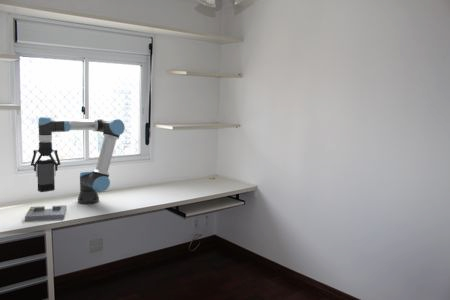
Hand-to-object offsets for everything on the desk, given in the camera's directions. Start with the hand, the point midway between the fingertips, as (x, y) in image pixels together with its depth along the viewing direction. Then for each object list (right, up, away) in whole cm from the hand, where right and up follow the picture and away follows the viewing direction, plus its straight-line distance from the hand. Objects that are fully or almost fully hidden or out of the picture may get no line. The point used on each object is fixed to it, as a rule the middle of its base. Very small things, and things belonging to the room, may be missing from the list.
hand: (46, 176), depth 243 cm
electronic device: (0, -10, +1) cm, 10 cm away
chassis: (-1, -26, +3) cm, 26 cm away
